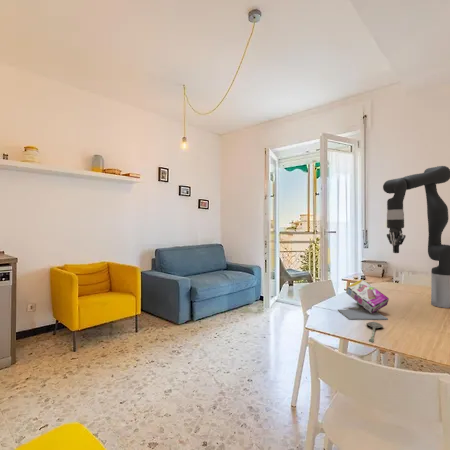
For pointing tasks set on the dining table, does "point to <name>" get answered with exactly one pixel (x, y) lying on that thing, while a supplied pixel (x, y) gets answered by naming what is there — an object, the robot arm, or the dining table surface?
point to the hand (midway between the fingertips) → (396, 252)
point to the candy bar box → (367, 296)
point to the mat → (362, 315)
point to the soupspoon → (374, 325)
